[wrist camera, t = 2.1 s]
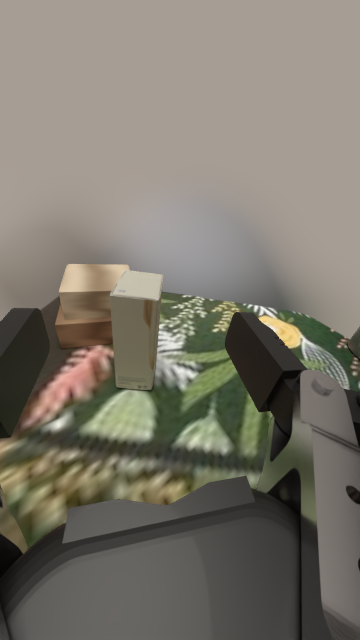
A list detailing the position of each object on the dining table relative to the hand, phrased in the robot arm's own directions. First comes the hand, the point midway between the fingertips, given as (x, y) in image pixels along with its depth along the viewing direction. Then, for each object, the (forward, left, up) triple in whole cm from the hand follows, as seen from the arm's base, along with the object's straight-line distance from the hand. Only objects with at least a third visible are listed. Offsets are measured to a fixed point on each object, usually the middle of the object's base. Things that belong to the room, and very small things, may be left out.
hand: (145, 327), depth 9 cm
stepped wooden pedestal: (+2, -22, -15) cm, 27 cm away
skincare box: (-2, -11, -16) cm, 19 cm away
